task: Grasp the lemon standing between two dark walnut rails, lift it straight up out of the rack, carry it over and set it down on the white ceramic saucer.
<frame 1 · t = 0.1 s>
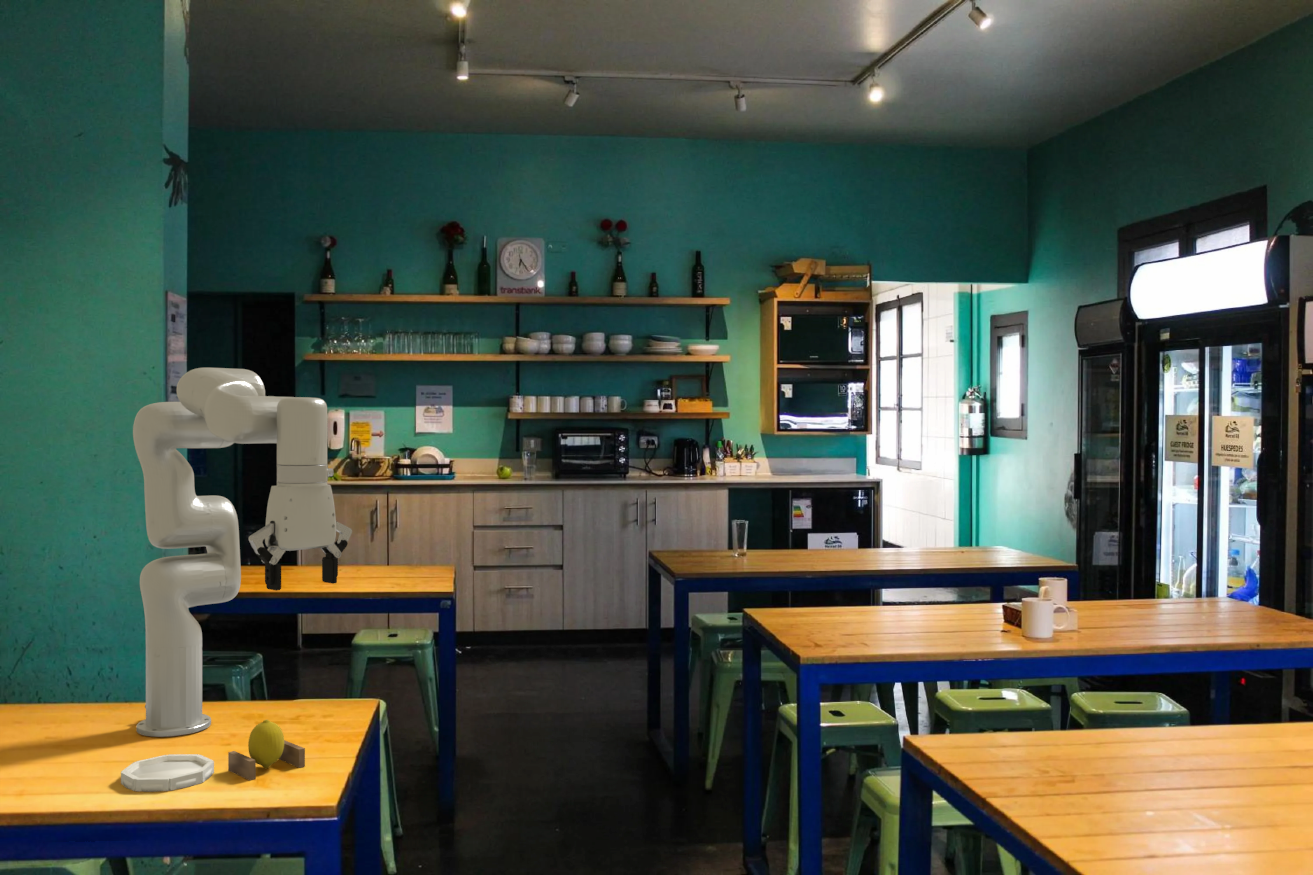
hand: (302, 585, 171), 31 cm above the table, tool pointing down, fingers open, 9 cm apart
lemon: (266, 769, 179), on the table
saucer: (168, 777, 174), on the table
rack: (266, 768, 179), on the table
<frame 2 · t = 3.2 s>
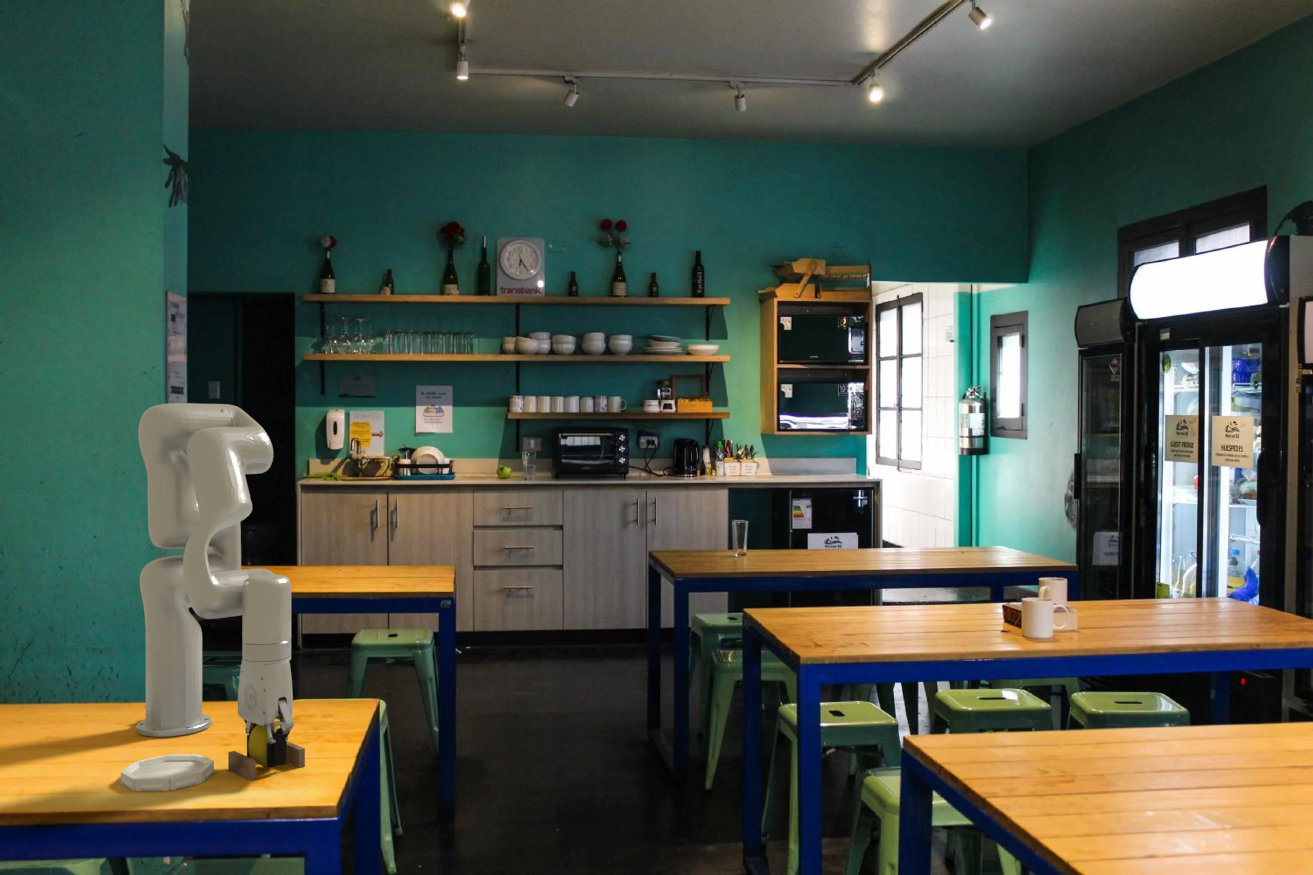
hand: (266, 760, 179), 1 cm above the table, tool pointing down, fingers closed on lemon, 5 cm apart
lemon: (266, 769, 179), on the table, touching gripper
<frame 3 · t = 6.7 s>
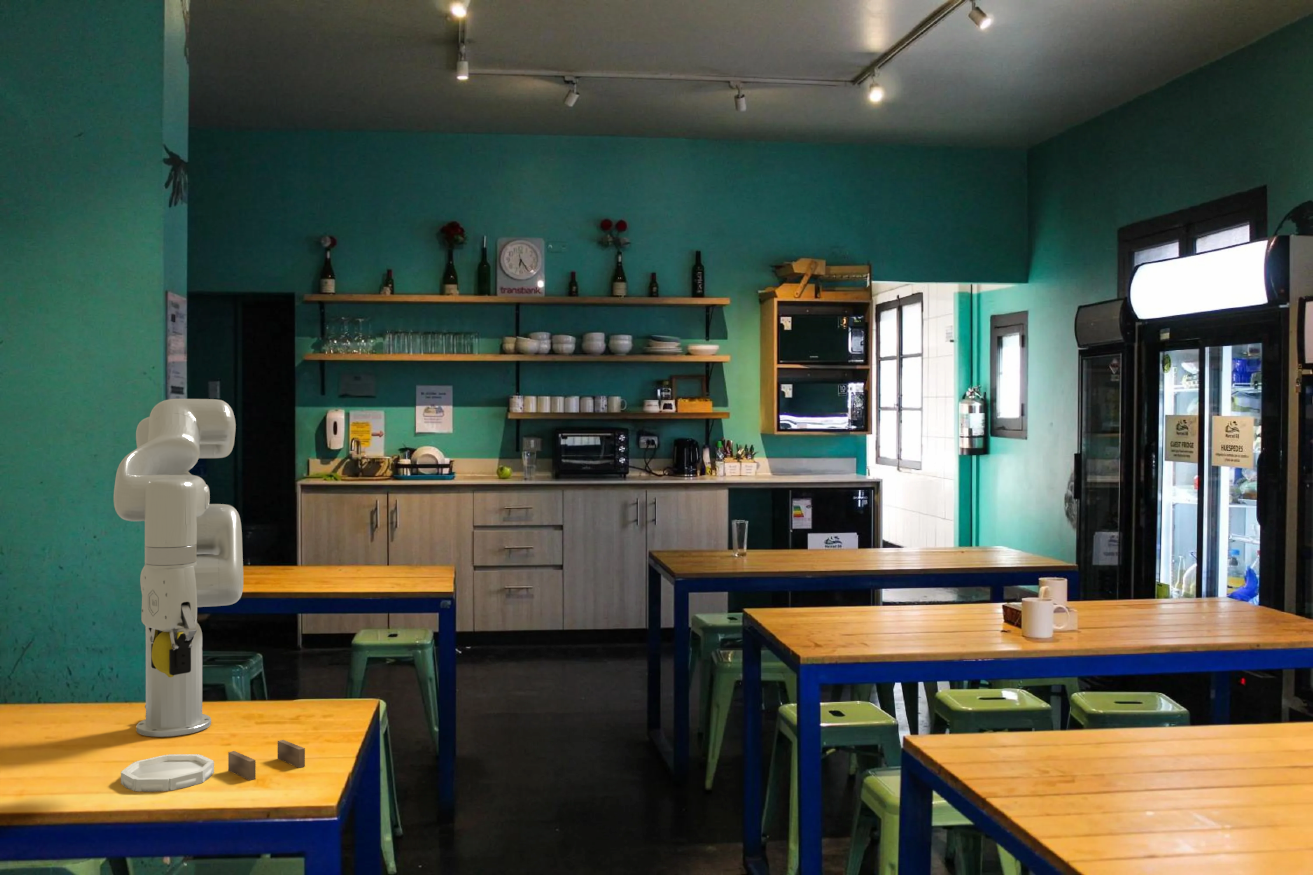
hand: (170, 669, 174), 17 cm above the table, tool pointing down, fingers closed on lemon, 5 cm apart
lemon: (170, 678, 174), point 16 cm above the table, touching gripper
when the fingers open (4 cm above the table, at t = 10.1 s): lemon drops 1 cm, resting on saucer.
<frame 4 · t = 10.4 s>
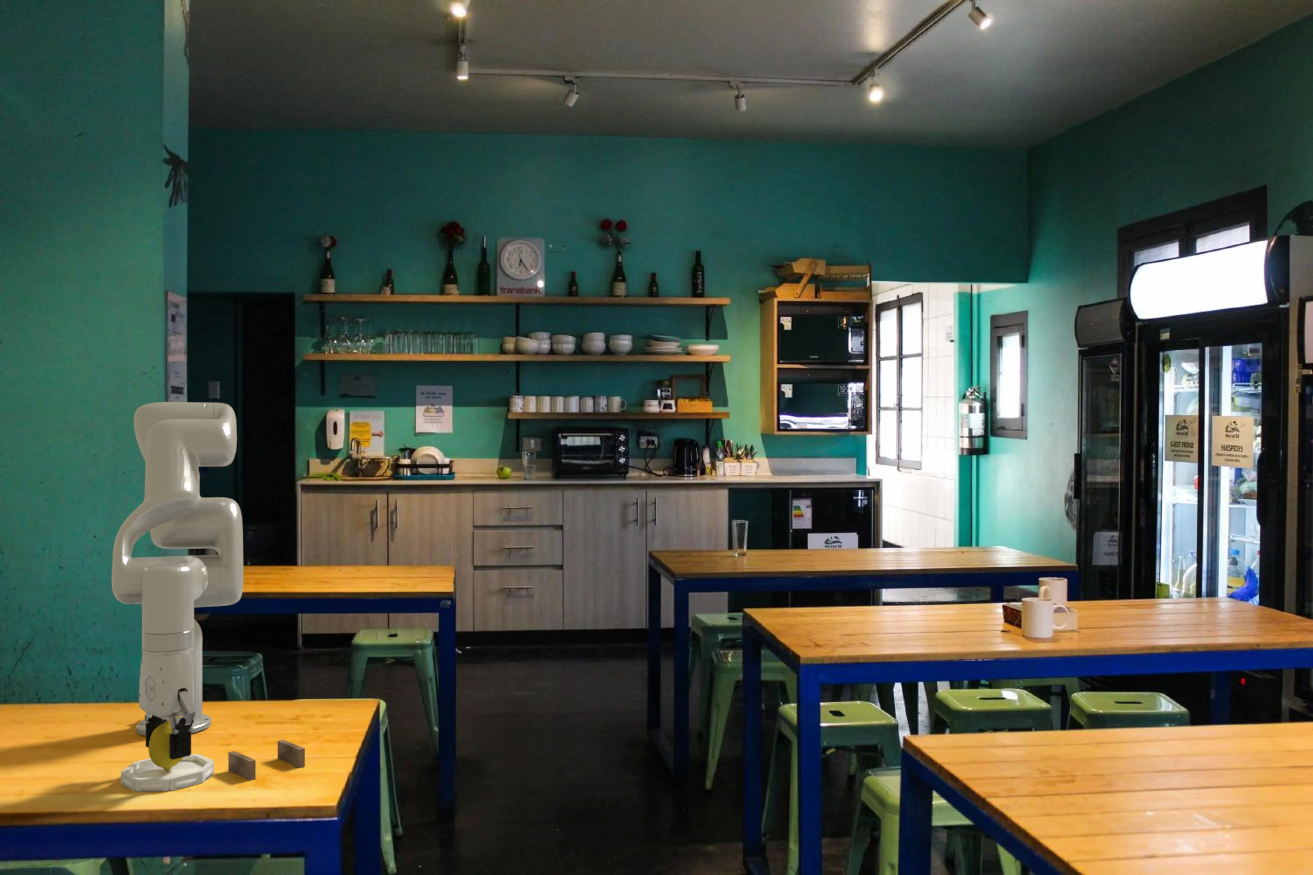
hand: (168, 750, 174), 4 cm above the table, tool pointing down, fingers open, 8 cm apart
lemon: (167, 771, 175), point 1 cm above the table, touching saucer
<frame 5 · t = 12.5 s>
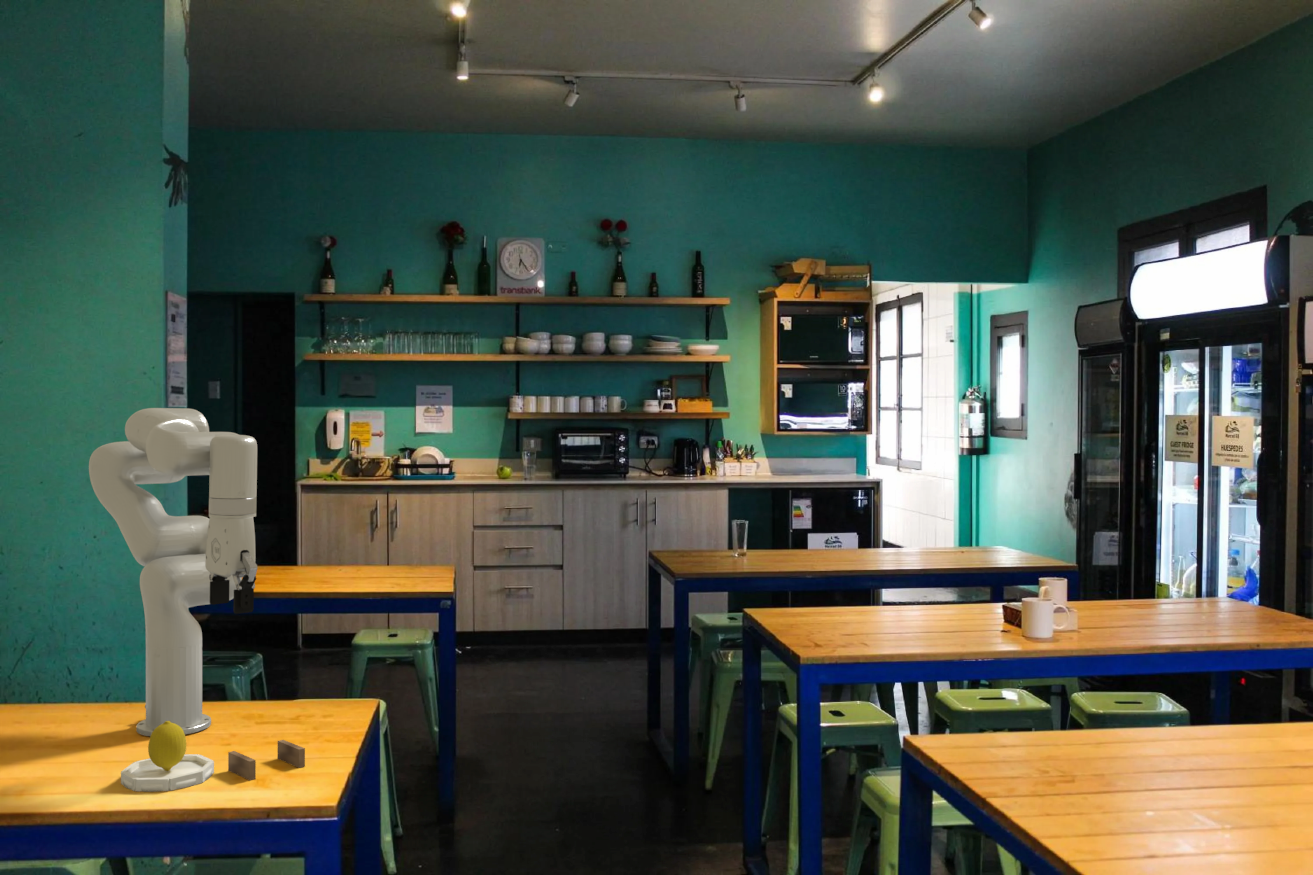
hand: (231, 607, 187), 25 cm above the table, tool pointing down, fingers open, 9 cm apart
nothing on the table moved.
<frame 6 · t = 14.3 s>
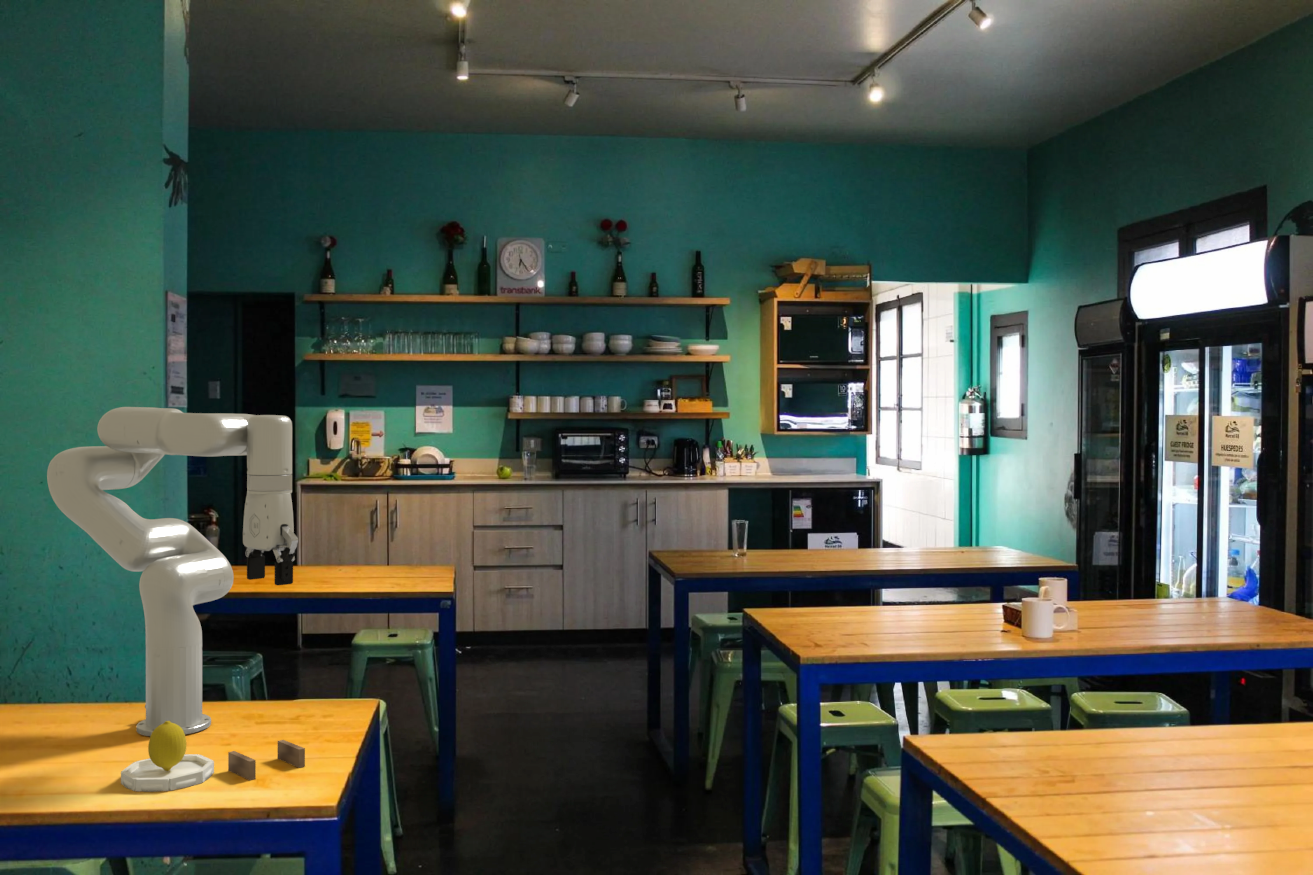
hand: (269, 581, 194), 28 cm above the table, tool pointing down, fingers open, 9 cm apart
nothing on the table moved.
at the end: lemon 0.3 cm from the saucer (horizontally); lemon point 0.8 cm above the table; the gripper is holding nothing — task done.
